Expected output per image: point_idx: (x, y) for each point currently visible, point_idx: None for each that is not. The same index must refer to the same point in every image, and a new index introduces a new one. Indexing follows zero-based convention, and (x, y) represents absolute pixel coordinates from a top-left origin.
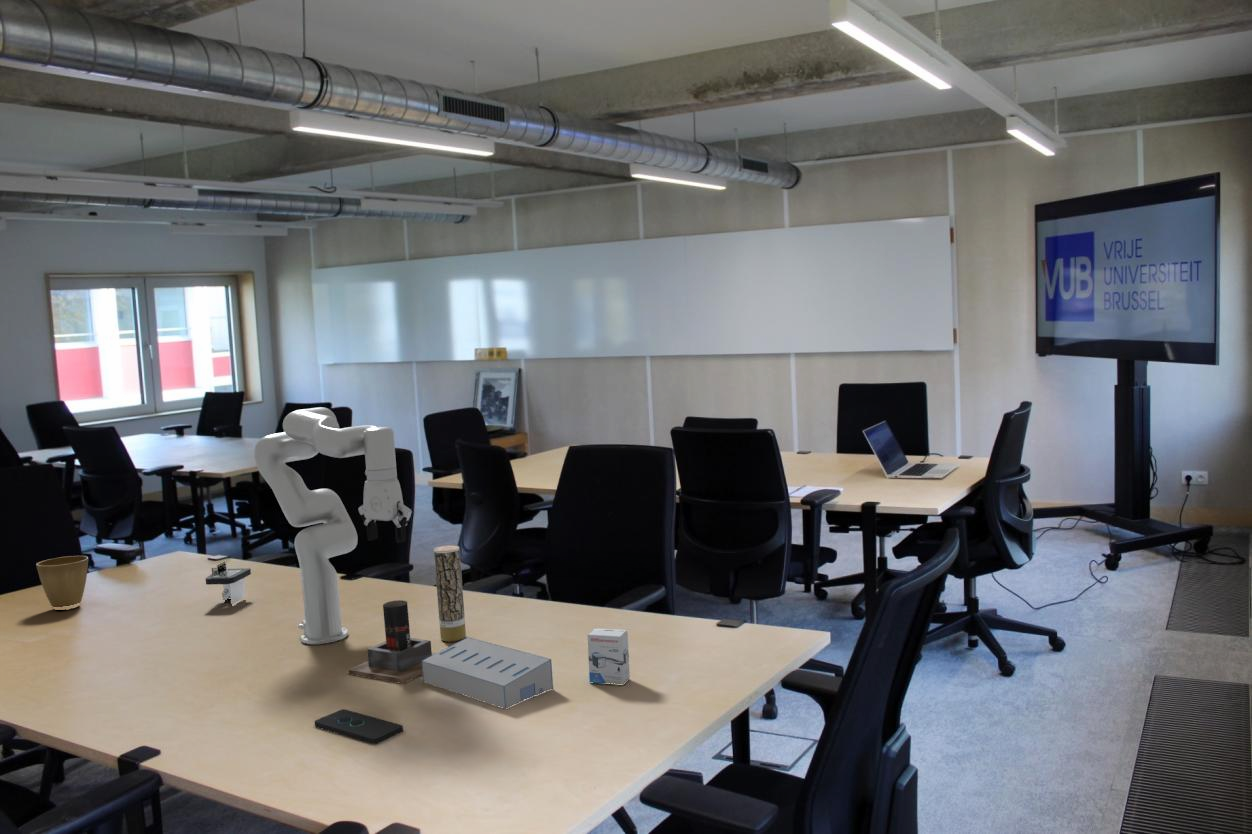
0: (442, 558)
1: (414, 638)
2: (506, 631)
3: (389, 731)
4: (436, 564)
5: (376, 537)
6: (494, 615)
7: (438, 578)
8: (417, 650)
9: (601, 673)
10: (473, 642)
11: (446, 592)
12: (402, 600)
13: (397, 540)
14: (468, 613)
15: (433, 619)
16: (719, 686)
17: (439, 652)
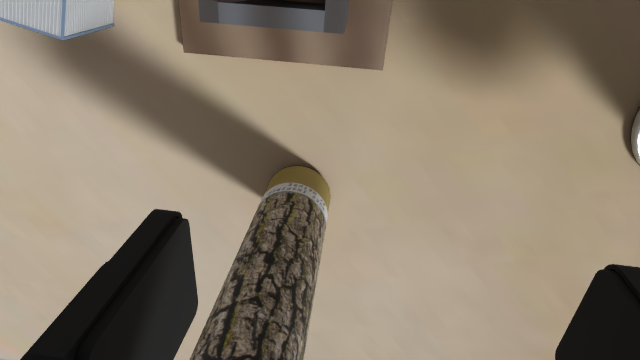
0: (220, 349)
1: (268, 26)
2: (215, 254)
3: None
4: (267, 329)
5: (565, 350)
6: (313, 332)
7: (273, 282)
8: None
9: None
10: (14, 3)
11: (255, 246)
12: (230, 2)
13: (143, 222)
14: (380, 336)
15: (441, 296)
16: None
17: None
